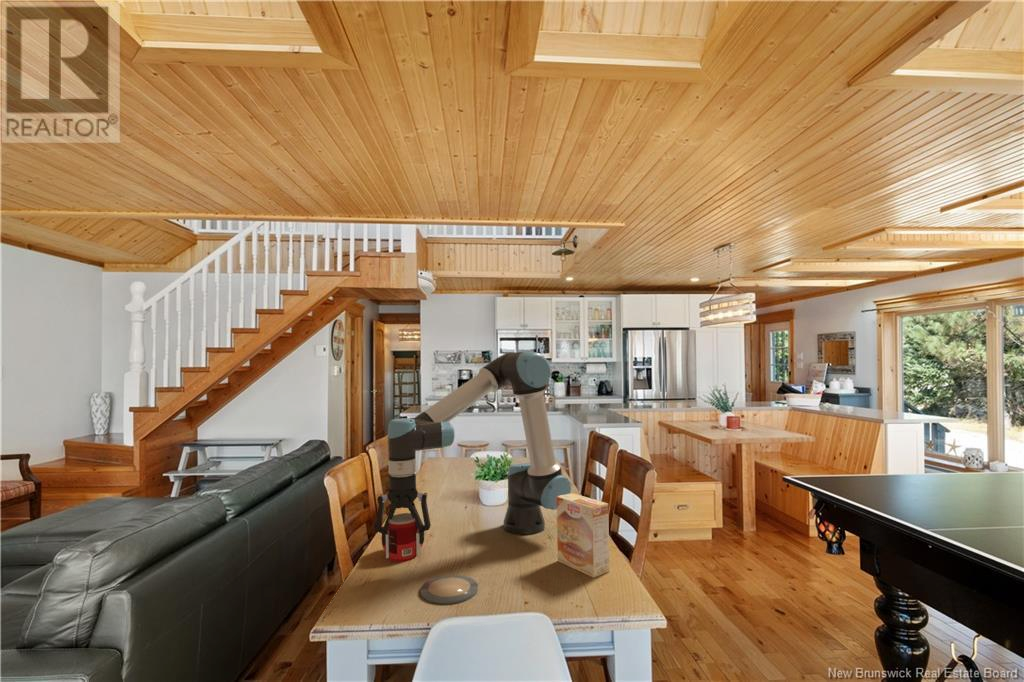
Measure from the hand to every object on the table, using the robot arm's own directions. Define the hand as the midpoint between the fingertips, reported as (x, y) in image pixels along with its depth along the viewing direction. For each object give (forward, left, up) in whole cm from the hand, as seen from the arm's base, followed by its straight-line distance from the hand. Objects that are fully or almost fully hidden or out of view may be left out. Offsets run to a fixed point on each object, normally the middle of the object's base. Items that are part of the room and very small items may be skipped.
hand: (403, 555), depth 135 cm
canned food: (0, 0, 0) cm, 0 cm away
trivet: (-14, +8, -6) cm, 17 cm away
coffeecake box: (-52, -5, -6) cm, 52 cm away
